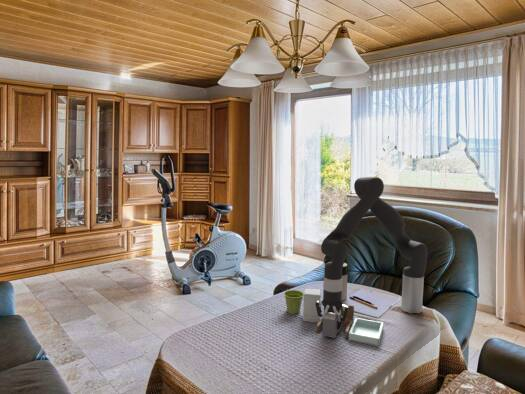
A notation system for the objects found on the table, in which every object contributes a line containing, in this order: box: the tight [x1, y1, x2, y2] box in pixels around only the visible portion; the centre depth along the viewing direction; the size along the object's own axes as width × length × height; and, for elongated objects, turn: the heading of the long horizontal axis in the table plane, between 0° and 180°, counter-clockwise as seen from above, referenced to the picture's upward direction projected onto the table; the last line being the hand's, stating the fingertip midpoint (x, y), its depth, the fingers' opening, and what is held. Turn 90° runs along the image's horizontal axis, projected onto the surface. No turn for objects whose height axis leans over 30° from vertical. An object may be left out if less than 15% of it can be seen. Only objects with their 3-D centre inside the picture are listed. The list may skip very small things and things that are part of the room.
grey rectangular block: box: [322, 311, 341, 338], centre depth 157 cm, size 10×5×8 cm, turn 156°
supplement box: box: [302, 288, 322, 323], centre depth 173 cm, size 7×7×13 cm
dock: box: [315, 303, 355, 340], centre depth 163 cm, size 13×13×9 cm
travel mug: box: [342, 262, 349, 301], centre depth 196 cm, size 8×8×18 cm
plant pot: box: [283, 289, 304, 314], centre depth 180 cm, size 9×9×9 cm
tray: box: [348, 317, 384, 347], centre depth 158 cm, size 16×12×3 cm
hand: (331, 327), depth 158 cm, fingers closed on grey rectangular block, 5 cm apart
